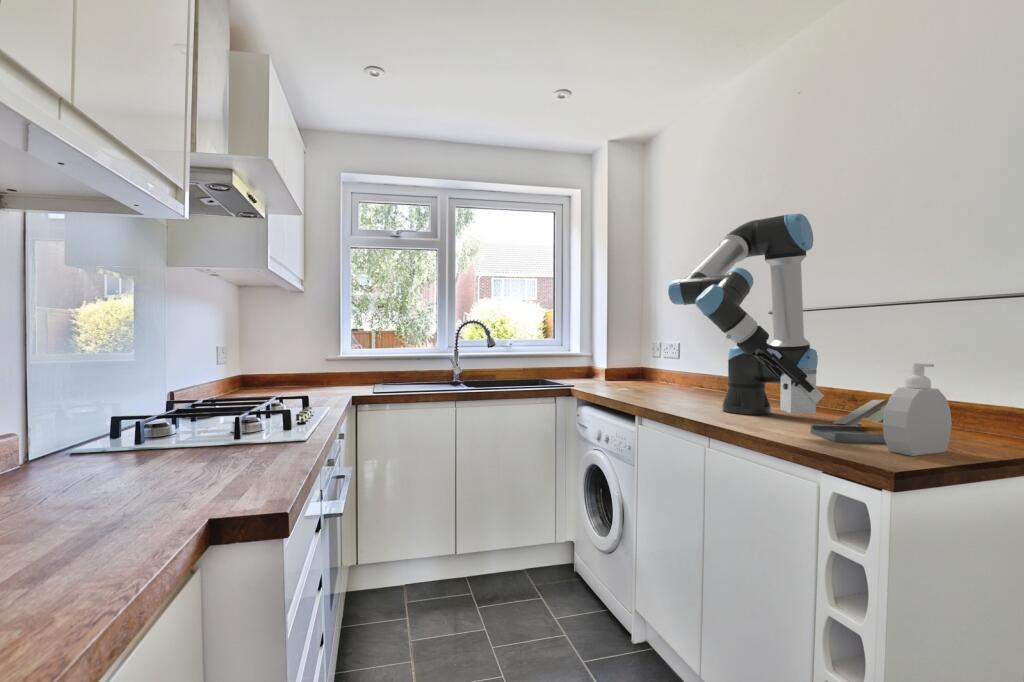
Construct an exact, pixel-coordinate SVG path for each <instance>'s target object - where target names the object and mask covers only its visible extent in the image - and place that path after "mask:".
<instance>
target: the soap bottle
mask: <svg viewBox="0 0 1024 682" xmlns="http://www.w3.org/2000/svg"><path fill="white" fill-rule="evenodd" d="M934 366H935V365H934V363H920V362H918V363H917V362H915V363H914V362H913V363H912V367H911V368H912V369H911V370H912V371H911V372H912V373H911V374H912V375H909V376H907V377H906V378H905V387H897V389H895V391H894V392H893V393H892V394H890V396H889V398H888V401H887V405H886V408H885V412H884V420H883V430H884V439H885V442H886V447H887V448H888V451H889V452H890V453H894V454H895V453H896V454H898V455H899V454H900V455H905V456H909V457H918V456H925V455H934V454H941V453H945V452H946V451H947V448H948V445H949V443H950V441H951V435H952V434H951V433H952V425H953V423H952V415H951V412H952V411H951V408H950V405H949V403H948V400H947V397H946V396H945V395H944V394H943V393H942V391H941V390H940V389H939V388H932V381H931V379H930V378H929V377H928V376H926V375H925V368H934Z"/></svg>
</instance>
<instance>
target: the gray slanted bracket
mask: <svg viewBox="0 0 1024 682" xmlns="http://www.w3.org/2000/svg"><path fill="white" fill-rule="evenodd" d="M887 403H888V401H887V400H886V399H871V400H870V401H868V402H866V403H864V404H863V405H861V406H859V407H858V408H856V409H855V410H853V411H851V412H849V413H847V414H846V415H845V416H842V417H841V418H839V419H838V420H835V421H834V422H833V425H835V424H836V425H844V426H861V419H869V420H873V421H877V422H881V423H883V420H884V412H885V408H886V405H887Z"/></svg>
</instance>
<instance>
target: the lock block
mask: <svg viewBox="0 0 1024 682" xmlns="http://www.w3.org/2000/svg"><path fill="white" fill-rule="evenodd" d="M800 369H801V370H802V371H803V372H804V373H805V374H806V375H807V376H808V377H807V378H806V379H807V380H808V381H809V382H810V383H811V384H813V385H814V386H815V387H816V388H817V371H818V370H817V369H809V368H800ZM780 372H781V384H780V388H779V389H780V394H779V395H780V397H779V399H780V400H779V401H780V403H779V406H780V411H783V412H785V413H786V412H787V413H789V414H799V415H801V414H805V415H806V414H812V415H813V414H815V415H816V414H817V403H814V402H813V401H812V400H811V399H810V398H809V397H808V396H807V395H806V394H805V393H804V392H803V391H802V390H801V389H800V388H799V387H798V386H797V387H796V386H794V385H795V384H796V383H795V382H794V381H793V380H792V379H790V378H789V377H788V376H787V375H786V374H785V373H783V372H782V371H780Z"/></svg>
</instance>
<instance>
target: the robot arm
mask: <svg viewBox="0 0 1024 682" xmlns="http://www.w3.org/2000/svg"><path fill="white" fill-rule="evenodd" d="M812 229H813V228H812V225H811V224H810V220H809V218H807V217H806V215H804V214H803V213H791V214H784V215H779V216H773V217H767V218H761V219H754V220H750V221H746V222H745V223H743V224H741V225H739V226H738V227H736V228H734V229H732V230H731V231H729V233H727V234H726V235H725V236H724V237H723V238H722V239H720V240H719V243H718V246H717V248H715V249H714V250H713V251H712V252H711V253H710V254H709V255H708V256H707V257H706V258H705V259H704V260H703V261H702V262H701V263H700V264H699V265H698V266H697V267H696V268H695V269H693V271H691V272H690V273H689V274H688V276H686V277H685V278H679V279H673V280H672V281H671V282H670V283H669V285H668V291H667V292H668V297H669V300H670V302H671V303H672V304H673V305H680V306H681V305H684V306H687V305H695V306H696V307H697V308H698V309H699V310H700V311H701V313H702V315H703V316H705V317H706V318H708V320H710V321H711V322H712V323H713V324H714V325H715V326H716V327H717V328H718V329H720V330H721V332H722V333H723V334H725V335H726V336H725V339H726V340H729V339H730V340H731V341H732V342H733V343H734V344H736V346H732V347H730V348H729V351H728V357H727V363H728V364H727V370H728V371H727V373H728V374H727V390H726V394H725V396H724V399H723V402H722V407H721V408H722V411H723V412H726V413H731V414H740V415H752V416H754V415H755V416H759V415H761V416H762V415H763V416H764V415H770V414H771V413H772V412H771V410H772V408H771V404H770V401H769V398H768V395H767V392H766V384H777V385H778V384H780V385H781V372H780V371H782V372H783V373H785V374H786V375H787V376H788V377H789V378H790V379H792V380H793V381H794V382H795V383H796V384H795V385H794V386H796V387H797V386H798V387H799V388H800V389H801V390H802V391H803V392H804V393H805V394H806V395H807V396H808V397H809V398H810V399H811V400H812V401H813V402H814V403H816V404H817V403H818V402H819V401H821V400H822V399H823V398H824V397H825V395H824V394H823V393H822V392H821V391H820V390H819V389H818V388H817V386H816V387H815V386H814V385H813V384H811V383H810V382H809V381H808V380H807V379H806V378H807V377H808V376H807V375H806V374H805V373H804V372H803V371H802V370H801V369H800V368H809V369H816V370H817V369H818V360H819V359H818V358H819V357H818V352H817V350H816V349H813V348H811V343H810V341H808V339H806V338H805V330H804V329H805V328H804V327H805V326H804V306H803V303H804V301H803V281H802V280H803V279H802V277H803V276H802V263H803V260H804V259H806V257H807V252H808V251H810V250H812V248H813V247H814V234H813V230H812ZM758 256H764V261H765V262H766V263H767V264H768V265H769V266H770V284H771V285H770V288H771V289H770V290H771V305H772V306H771V308H772V309H771V310H772V327H773V328H772V329H773V339H772V340H771V341H770V342H769V343H767V342H768V340H769V338H770V334H769V333H768V332H767V331H766V329H764V328H763V327H762V326H761V325H758V322H757V320H755V319H754V318H753V317H752V316H751V315H750V314H749V313H748V312H746V311H745V310H744V309H743V307H741V306H740V305H741V304H742V303H743V302H744V300H745V299H746V297H747V296H748V295H749V294H750V293H751V289H752V288H753V285H754V277H753V274H751V272H750V271H749V270H747V269H745V268H743V267H734V266H735V265H736V264H737V263H740V262H742V261H744V260H745V259H747V258H751V257H758ZM733 267H734V268H733Z"/></svg>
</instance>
